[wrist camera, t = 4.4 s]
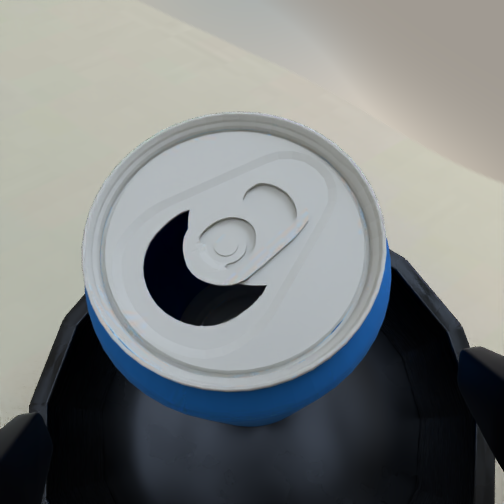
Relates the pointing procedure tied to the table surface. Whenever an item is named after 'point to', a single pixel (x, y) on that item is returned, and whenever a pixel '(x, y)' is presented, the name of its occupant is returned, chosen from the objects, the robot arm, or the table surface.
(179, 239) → the beverage can
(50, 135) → the table surface
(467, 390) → the robot arm
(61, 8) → the table surface
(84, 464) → the pot
